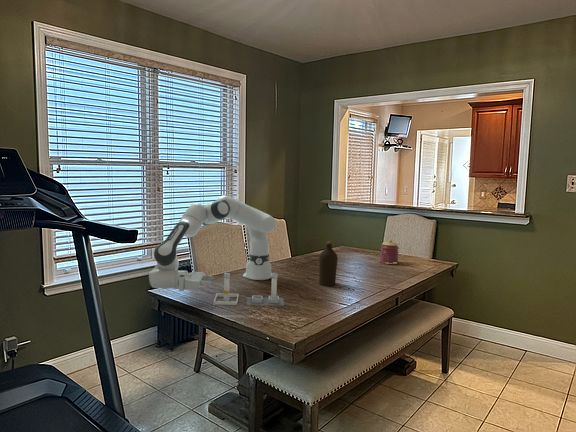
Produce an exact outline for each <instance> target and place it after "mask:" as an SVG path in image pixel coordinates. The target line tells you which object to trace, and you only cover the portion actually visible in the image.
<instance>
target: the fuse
mask: <svg viewBox="0 0 576 432" xmlns="http://www.w3.org/2000/svg"><path fill="white" fill-rule="evenodd" d="M270 279H271V290H270V296H271V299H277V297H276V296H277V295H278V293H277V288H278V285H277V284H278V272H271V278H270Z"/></svg>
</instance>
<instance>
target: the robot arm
mask: <svg viewBox="0 0 576 432" xmlns="http://www.w3.org/2000/svg"><path fill="white" fill-rule="evenodd" d="M227 217H228V218H229V219H232V220H234V221H235V222H238V223H240V224H243V225H245V226H246V228H247V230H248V236H249V243H250V244H249V254H248V262H246V265H245V266H246V267H245V268H246V269H245V272H244V273H243V275H242V278H246V279H249V280H258V281H264V280H269V279H272V278H271V273H272V263H271V262H270V261H269V260H270V254H269V247H270V245H269V244H270V241H269V239H268V237H267V234H268V233H271V232H273V231H275V229H276V228H277V221H276V219H275V218H274V217H273V216H272V215H270V214H268V213H266V212H264V211H261V210H260V209H258V208H255V207H253V206H250V205H248V204H246V203H244V202H243V201H241V200H239V199H236V198H234V197H232V196H229V195H225V194H224V195H220V196H219V197H218V199H216V200H214V201H212V202H210V203H207V204H206V205H203V204H201V203H199V202H193V203H192V204H190V206H188V207H187V208H186V210H185V212H184V213H183V214H182V216H181V218H180V220H179V222H177V223H176V225H175V226H174V227H173V228H172V230H171V231H170V233H169V234H168V236H167V237H166V239H165V240H164V241H163V242H162V243H160V244H159V245H158V246H156V248H155V249H154V252H153V257H154V260H155V261H156V264H155V266H154V268H152V269H151V270H150V271H148V283H149V285H150V287H151V288H153V289H164V290H166V289H175V290H179V291H180V292H184V291H191V290H195V291H196V290H199V289H200V288H201V286H202V287H203V286H210V285H211V284H212V281H214V275H210V274H206V273H205V272H204V271H192V272H188V270H183V269H182V270H179V266H180V262H179V258H178V256H177V249H178V245H179V244H180V243H181V242H182V241H183V238H184V237H186V238H192V237H195V236H196V235H197V234H198V233H199V231H200V229H201V228H202V226H211V225H214V224H216V223H219V222H220V221H223V220H224V219H225V218H227ZM266 233H267V234H266Z"/></svg>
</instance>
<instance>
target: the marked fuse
mask: <svg viewBox="0 0 576 432" xmlns="http://www.w3.org/2000/svg"><path fill="white" fill-rule="evenodd" d="M230 278H231V273H230V272H223V293H224V297H223V299H222V301H230V299H231V297H229V294H231V293H230V291H231V290H230V280H231V279H230Z"/></svg>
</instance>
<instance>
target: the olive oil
mask: <svg viewBox="0 0 576 432" xmlns="http://www.w3.org/2000/svg"><path fill="white" fill-rule="evenodd" d="M325 243H326V244H325V248H324V250H322V251H321V252H320V254H319V256H318V284H319V285H320V286H323V285H324V287H333V285H334V286H335V285H336V280H337V278H336V277H337V268H338V255H337V253H336V252H335V250H334V249H333V244H332V243H333V242H332V241H330V240H328V241H326V242H325Z"/></svg>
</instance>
